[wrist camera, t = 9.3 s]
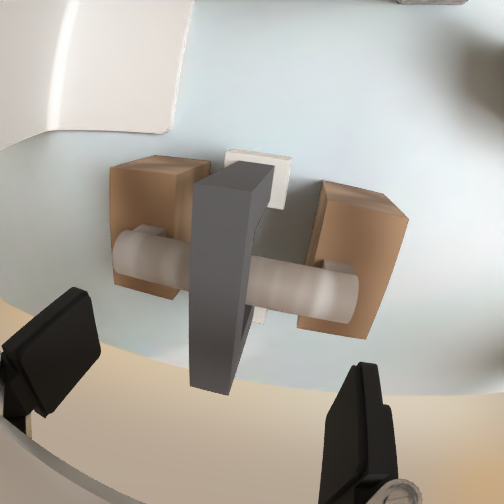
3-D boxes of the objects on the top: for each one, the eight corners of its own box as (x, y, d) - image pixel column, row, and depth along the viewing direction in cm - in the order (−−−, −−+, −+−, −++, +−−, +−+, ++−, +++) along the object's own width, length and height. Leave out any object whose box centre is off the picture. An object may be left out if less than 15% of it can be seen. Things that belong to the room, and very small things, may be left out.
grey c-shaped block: (292, 157, 18) (277, 184, 10) (267, 308, 22) (243, 403, 14) (233, 149, 18) (172, 169, 10) (220, 298, 23) (175, 386, 14)
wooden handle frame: (383, 193, 20) (432, 243, 11) (355, 291, 23) (372, 379, 15) (155, 155, 22) (71, 179, 13) (152, 250, 25) (85, 310, 16)
